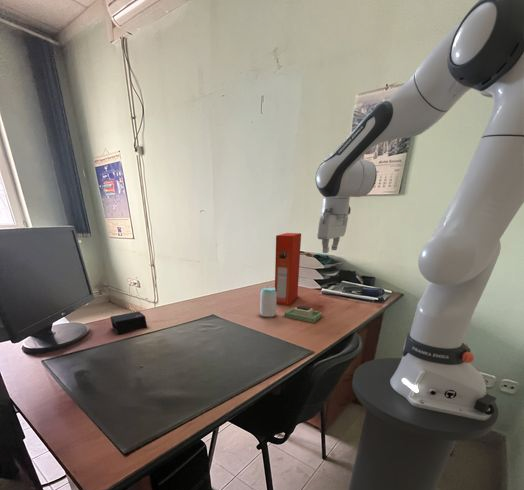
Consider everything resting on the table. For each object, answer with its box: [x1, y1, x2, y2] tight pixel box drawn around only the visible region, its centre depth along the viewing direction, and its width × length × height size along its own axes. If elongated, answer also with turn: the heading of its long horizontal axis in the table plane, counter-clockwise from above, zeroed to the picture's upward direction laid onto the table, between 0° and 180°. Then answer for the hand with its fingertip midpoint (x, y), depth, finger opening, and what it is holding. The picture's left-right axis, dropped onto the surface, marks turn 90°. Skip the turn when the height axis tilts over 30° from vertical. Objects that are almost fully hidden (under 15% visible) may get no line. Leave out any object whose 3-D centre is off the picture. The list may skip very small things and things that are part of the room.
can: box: [259, 286, 277, 318], centre depth 124 cm, size 7×7×12 cm
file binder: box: [274, 232, 302, 306], centre depth 141 cm, size 8×17×32 cm, turn 161°
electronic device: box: [110, 310, 148, 335], centre depth 109 cm, size 7×11×5 cm
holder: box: [284, 306, 323, 324], centre depth 125 cm, size 14×10×2 cm
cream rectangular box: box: [294, 304, 314, 317], centre depth 124 cm, size 7×5×4 cm
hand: (329, 251), depth 102 cm, fingers open, 8 cm apart
